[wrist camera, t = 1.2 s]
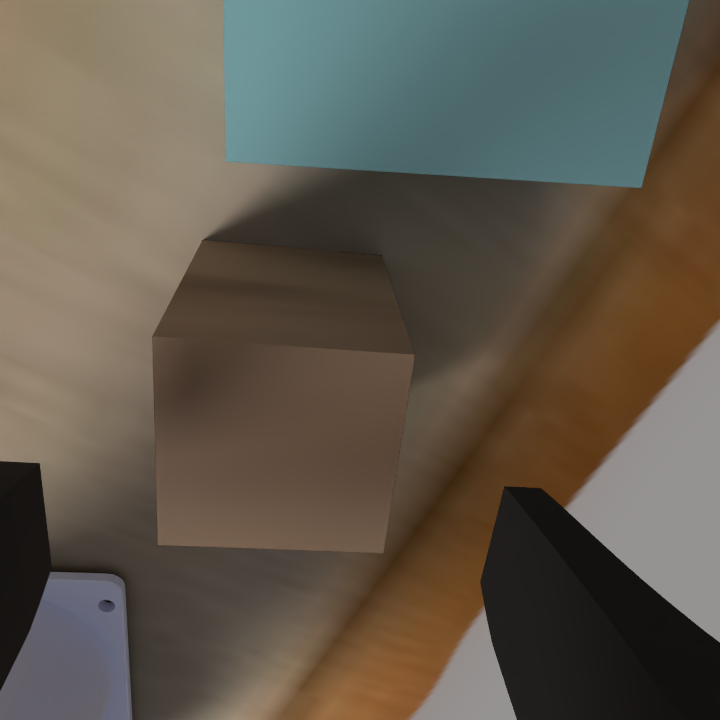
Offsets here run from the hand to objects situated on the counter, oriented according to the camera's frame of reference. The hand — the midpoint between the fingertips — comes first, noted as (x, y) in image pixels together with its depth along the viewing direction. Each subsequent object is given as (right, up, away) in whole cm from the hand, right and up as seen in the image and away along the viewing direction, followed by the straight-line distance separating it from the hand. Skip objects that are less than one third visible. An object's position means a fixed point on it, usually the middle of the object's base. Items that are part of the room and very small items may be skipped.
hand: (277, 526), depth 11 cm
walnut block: (-1, +3, +7) cm, 8 cm away
